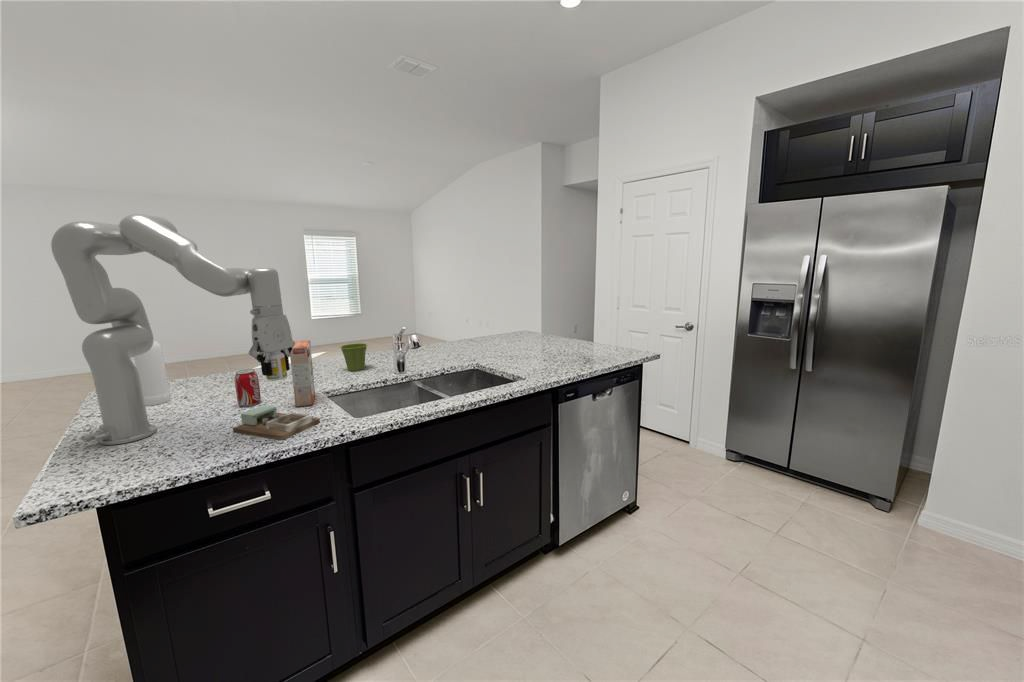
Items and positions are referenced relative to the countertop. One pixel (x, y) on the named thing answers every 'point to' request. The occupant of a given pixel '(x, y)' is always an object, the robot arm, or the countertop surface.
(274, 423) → the board
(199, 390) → the countertop surface
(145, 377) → the bottle
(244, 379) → the soda can
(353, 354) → the plant pot
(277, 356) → the supplement bottle
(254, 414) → the block
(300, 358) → the cracker box
